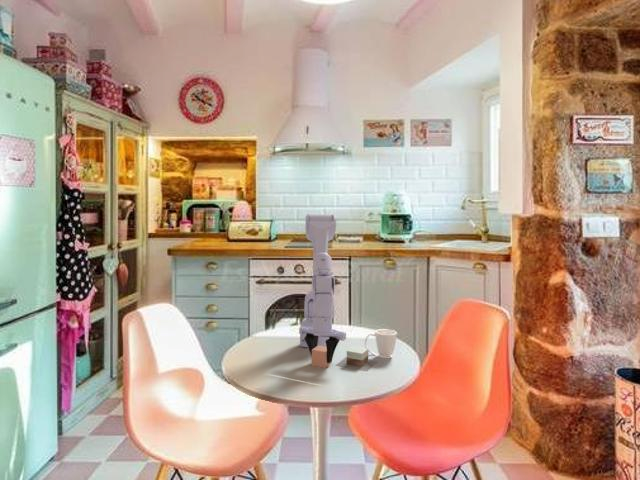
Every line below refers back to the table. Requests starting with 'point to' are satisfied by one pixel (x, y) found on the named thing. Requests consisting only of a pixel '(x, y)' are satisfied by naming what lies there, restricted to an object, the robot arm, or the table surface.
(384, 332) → the cup
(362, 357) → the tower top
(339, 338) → the robot arm
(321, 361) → the block
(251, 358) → the table surface
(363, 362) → the tower base
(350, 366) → the coaster
